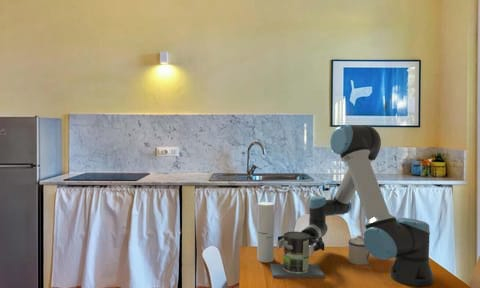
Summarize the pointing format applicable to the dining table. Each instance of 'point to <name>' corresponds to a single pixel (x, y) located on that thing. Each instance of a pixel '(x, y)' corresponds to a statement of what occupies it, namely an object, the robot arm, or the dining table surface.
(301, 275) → the slate board
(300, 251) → the coffee can
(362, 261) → the teacup with lid
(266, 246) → the cylindrical container
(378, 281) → the dining table surface
